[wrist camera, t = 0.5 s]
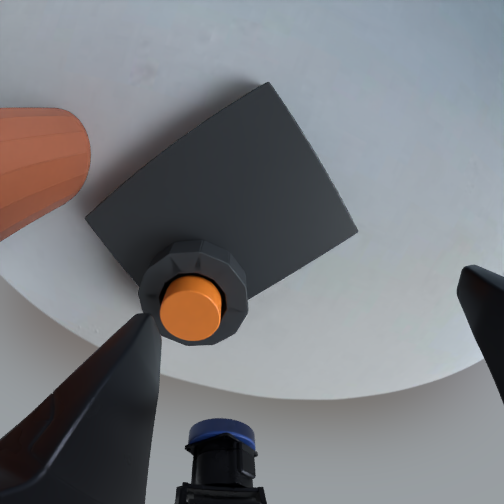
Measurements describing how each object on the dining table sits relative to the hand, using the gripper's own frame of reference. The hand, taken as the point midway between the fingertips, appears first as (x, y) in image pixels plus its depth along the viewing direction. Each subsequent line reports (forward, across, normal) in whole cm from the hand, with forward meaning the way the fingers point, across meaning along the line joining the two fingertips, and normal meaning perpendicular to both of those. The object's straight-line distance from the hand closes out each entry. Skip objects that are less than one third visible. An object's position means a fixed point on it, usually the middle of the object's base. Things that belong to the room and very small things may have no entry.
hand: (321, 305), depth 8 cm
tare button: (+8, +6, +5) cm, 11 cm away
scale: (+11, +4, +2) cm, 12 cm away
